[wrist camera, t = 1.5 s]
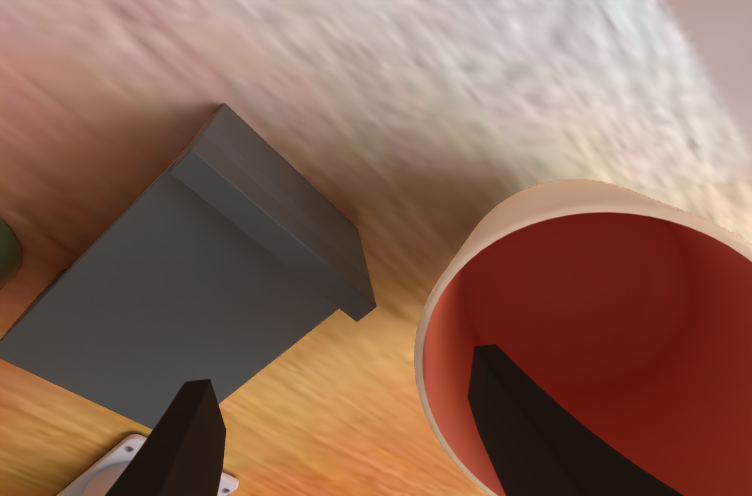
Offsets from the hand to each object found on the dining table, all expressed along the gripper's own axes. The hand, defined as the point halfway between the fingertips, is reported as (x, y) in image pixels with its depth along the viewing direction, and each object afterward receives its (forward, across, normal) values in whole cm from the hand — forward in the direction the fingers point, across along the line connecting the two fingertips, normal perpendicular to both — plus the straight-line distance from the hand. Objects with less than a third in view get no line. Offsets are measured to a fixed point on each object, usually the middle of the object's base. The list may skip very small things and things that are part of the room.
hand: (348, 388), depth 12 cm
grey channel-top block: (+10, +6, +1) cm, 12 cm away
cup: (+8, -11, +3) cm, 14 cm away
